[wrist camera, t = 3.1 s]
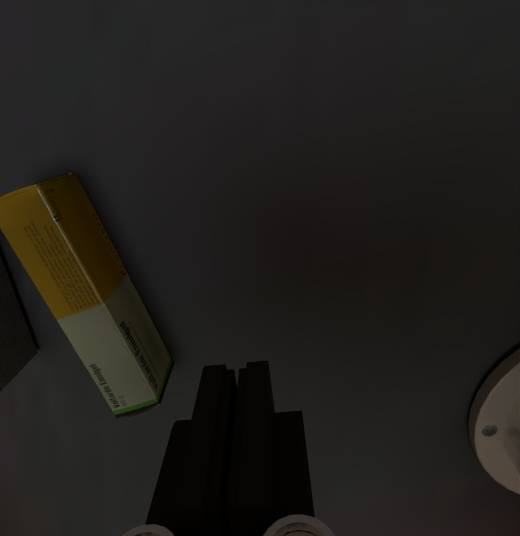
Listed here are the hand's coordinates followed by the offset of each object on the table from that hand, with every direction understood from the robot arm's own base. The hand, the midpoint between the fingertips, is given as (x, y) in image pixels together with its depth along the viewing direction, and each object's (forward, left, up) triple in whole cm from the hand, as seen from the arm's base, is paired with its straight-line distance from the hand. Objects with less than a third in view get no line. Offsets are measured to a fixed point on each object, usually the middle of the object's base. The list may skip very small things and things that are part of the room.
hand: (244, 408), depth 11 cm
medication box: (+8, +1, -11) cm, 14 cm away
